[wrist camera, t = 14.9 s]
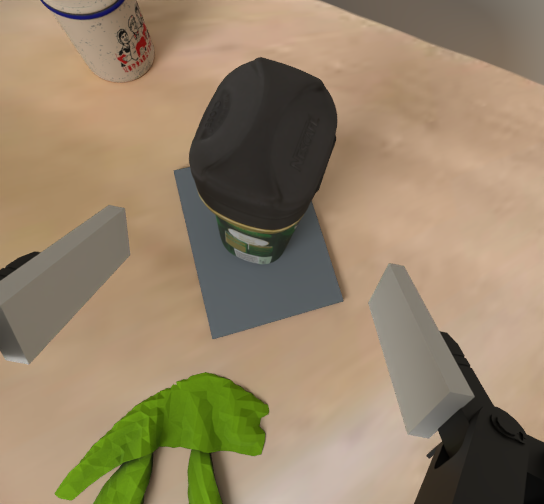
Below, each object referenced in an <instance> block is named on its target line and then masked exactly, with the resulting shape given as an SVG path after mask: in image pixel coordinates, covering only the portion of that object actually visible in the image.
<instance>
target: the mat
mask: <svg viewBox="0 0 544 504" xmlns="http://www.w3.org/2000/svg"><path fill="white" fill-rule="evenodd" d="M174 175H175V179H176V183H177V188H178V192H179V196H180V201H181V205H182V209H183V214H184V218H185V222H186V227H187V231H188V235H189V240H190V244H191V248H192V253H193V257H194V261H195V265H196V270H197V274H198V278H199V283H200V287H201V291H202V296H203V300H204V304H205V309H206V313H207V317H208V322H209V326H210V330H211V335H212V339H216V338H219V337H223V336H226V335H230V334H233V333H236V332H240V331H243V330H247V329H250V328H254V327H257V326H260V325H264V324H267V323H271V322H274V321H278V320H281V319H284V318H288V317H291V316H295V315H298V314H302V313H305V312H308V311H312V310H315V309H319V308H322V307H325V306H329V305H332V304H336V303H339V302H343V298H342V294H341V291H340V288H339V285H338V282H337V279H336V276H335V272H334V269H333V266H332V263H331V260H330V257H329V254H328V250H327V247H326V244H325V241H324V238H323V235H322V232H321V229H320V225H319V222H318V219H317V216H316V213H315V210H314V207H313V203H312V201H311V203H310V205H309V207H308V209H307V211H306V212H305V214H304V215H303V217H302V218H301V220H300V222H299V223H298V225H297V227H296V229H295V231H294V233H293V235H292V237H291V239H290V241H289V243H288V245H287V247H286V248H285V250H284V252H283V254H282V255H281V256H280V257H279V258H278V259H277V260H276V261H274V262H272V263H270V264H257V263H252V262H249V261H246V260H243V259H241V258H239V257H237V256H235V255H233V254H231V253H230V252H229V251H228V250H227V249H226V248H225V247H224V245H223V243H222V240H221V237H220V234H219V229H218V224H217V219H216V215H215V214H214V213H213V212H212V211H210V210H209V209H208V207H207V206H206V205H205V204H204V203H203V201H202V200H201V198H200V196H199V194H198V191H197V188H196V184H195V181H194V179H193V176H192V173H191V169H190V167H188V168H183V169H179V170H174Z"/></svg>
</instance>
